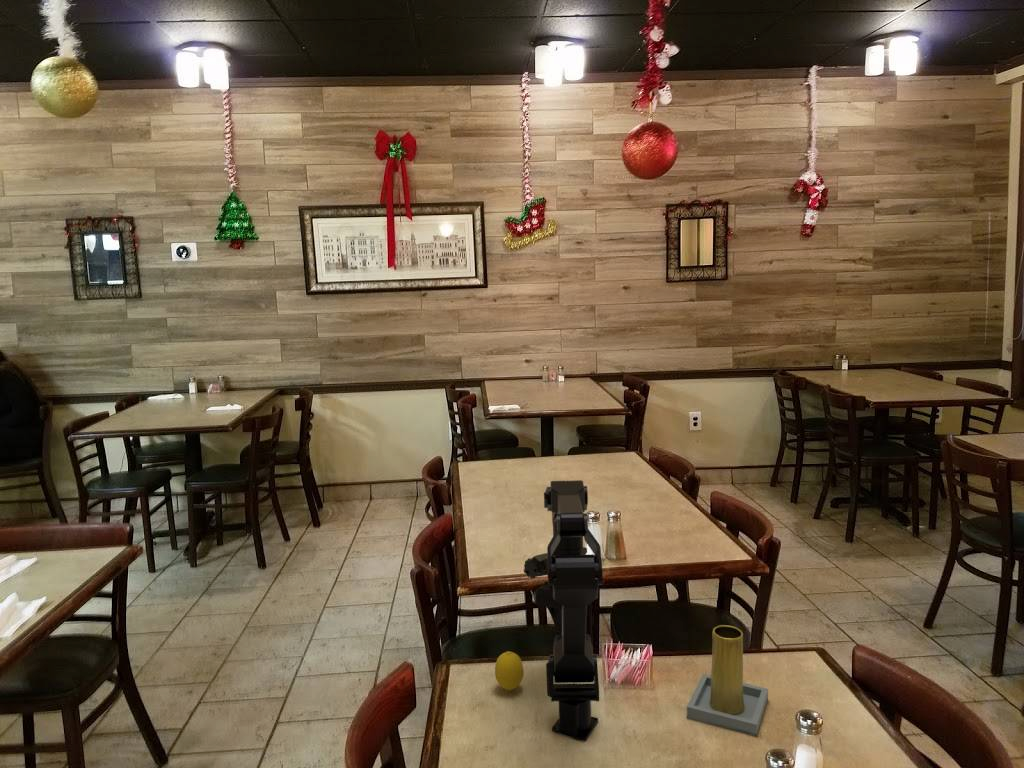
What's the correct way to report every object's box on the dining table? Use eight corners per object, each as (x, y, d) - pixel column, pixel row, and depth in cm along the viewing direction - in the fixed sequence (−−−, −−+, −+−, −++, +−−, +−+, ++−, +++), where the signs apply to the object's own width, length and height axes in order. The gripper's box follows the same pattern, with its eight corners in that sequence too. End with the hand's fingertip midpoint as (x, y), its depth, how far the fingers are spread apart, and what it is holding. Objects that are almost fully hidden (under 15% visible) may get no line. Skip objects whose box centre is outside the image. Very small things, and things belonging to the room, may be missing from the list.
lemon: (507, 679, 140) (506, 641, 139) (529, 688, 136) (528, 650, 135) (489, 692, 135) (488, 653, 134) (511, 701, 132) (510, 662, 131)
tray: (756, 736, 119) (756, 724, 119) (686, 718, 125) (686, 706, 125) (767, 699, 130) (768, 688, 130) (702, 684, 136) (703, 673, 135)
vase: (723, 691, 132) (724, 620, 130) (751, 706, 127) (752, 633, 125) (702, 703, 128) (703, 630, 126) (730, 719, 123) (731, 643, 121)
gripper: (551, 524, 145) (552, 595, 147) (507, 555, 129) (510, 634, 131) (601, 531, 140) (602, 605, 142) (562, 565, 124) (564, 647, 126)
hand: (569, 621), depth 135 cm, fingers open, 9 cm apart
